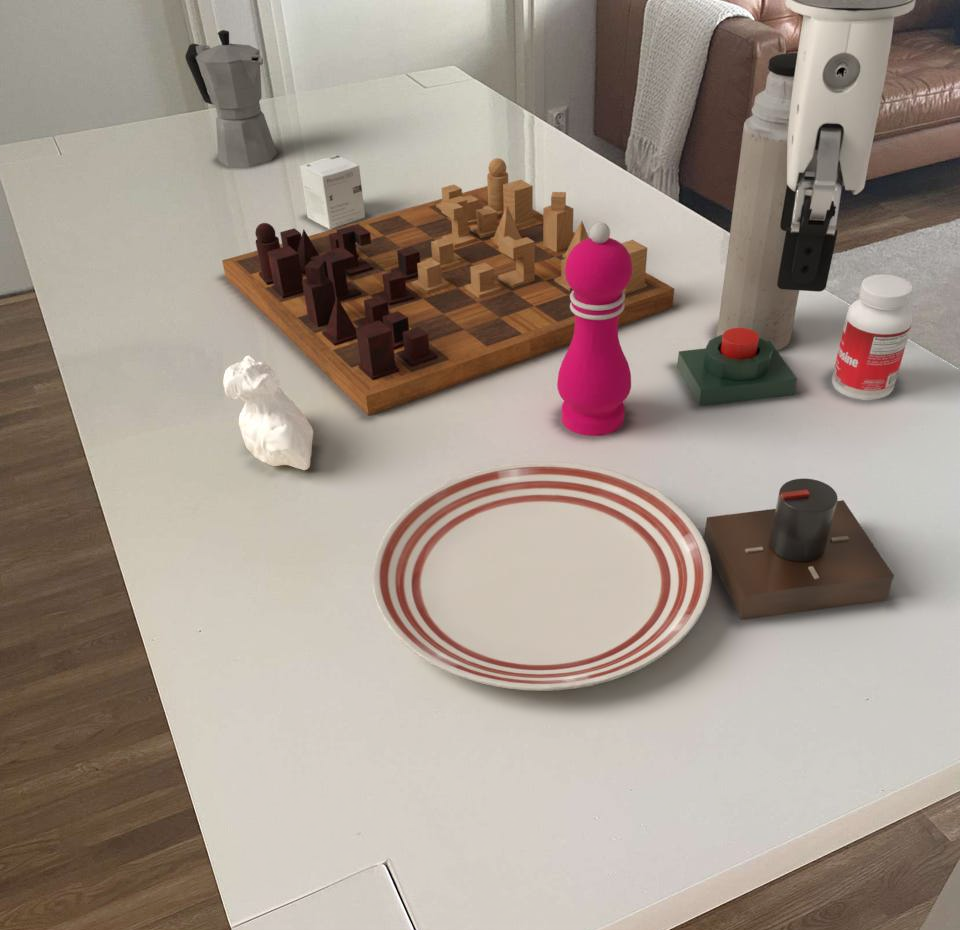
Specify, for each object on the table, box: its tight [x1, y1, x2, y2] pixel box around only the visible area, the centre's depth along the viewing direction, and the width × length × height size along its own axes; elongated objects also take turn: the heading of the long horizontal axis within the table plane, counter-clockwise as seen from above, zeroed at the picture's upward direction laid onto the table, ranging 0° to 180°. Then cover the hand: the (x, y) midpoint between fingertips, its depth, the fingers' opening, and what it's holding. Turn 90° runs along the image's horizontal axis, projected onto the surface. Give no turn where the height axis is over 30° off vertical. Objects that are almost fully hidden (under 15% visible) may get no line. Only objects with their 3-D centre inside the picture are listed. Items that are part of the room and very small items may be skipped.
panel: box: [703, 499, 895, 621], centre depth 83 cm, size 12×10×3 cm
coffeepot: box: [185, 29, 278, 168], centre depth 154 cm, size 15×9×18 cm, turn 57°
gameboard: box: [221, 157, 675, 416], centre depth 120 cm, size 40×40×9 cm
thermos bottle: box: [716, 52, 800, 352], centre depth 102 cm, size 8×8×28 cm
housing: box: [676, 335, 798, 407], centre depth 104 cm, size 10×8×4 cm
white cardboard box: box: [299, 154, 366, 230], centre depth 139 cm, size 6×6×7 cm
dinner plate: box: [372, 461, 713, 692], centre depth 83 cm, size 27×27×3 cm
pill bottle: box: [831, 273, 914, 401], centre depth 100 cm, size 6×6×11 cm
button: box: [721, 328, 759, 360], centre depth 102 cm, size 4×4×2 cm
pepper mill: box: [556, 221, 632, 437], centre depth 95 cm, size 7×7×20 cm
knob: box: [769, 478, 839, 562], centre depth 80 cm, size 4×4×5 cm
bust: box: [222, 354, 314, 471], centre depth 97 cm, size 12×8×11 cm
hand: (801, 258), depth 72 cm, fingers open, 9 cm apart
